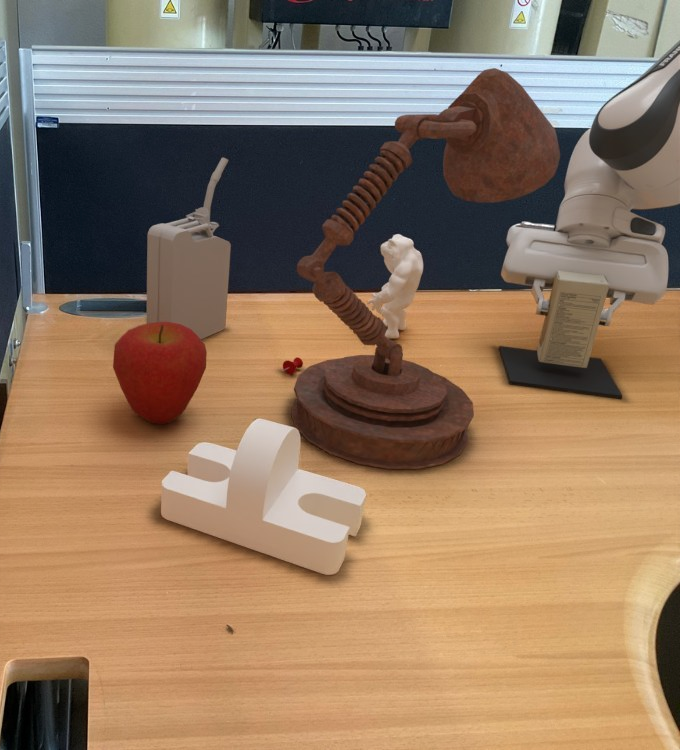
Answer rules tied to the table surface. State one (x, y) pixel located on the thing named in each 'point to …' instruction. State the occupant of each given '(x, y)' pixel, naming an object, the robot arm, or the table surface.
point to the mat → (557, 374)
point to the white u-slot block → (266, 499)
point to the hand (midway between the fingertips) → (572, 318)
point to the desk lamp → (386, 368)
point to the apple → (159, 369)
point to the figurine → (398, 283)
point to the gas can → (189, 270)
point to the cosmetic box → (572, 318)
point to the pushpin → (292, 365)
